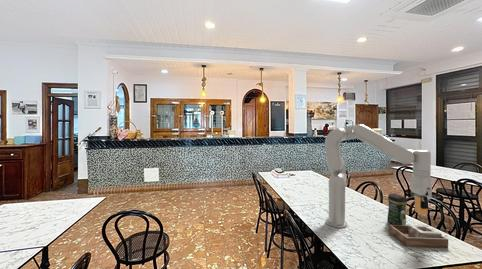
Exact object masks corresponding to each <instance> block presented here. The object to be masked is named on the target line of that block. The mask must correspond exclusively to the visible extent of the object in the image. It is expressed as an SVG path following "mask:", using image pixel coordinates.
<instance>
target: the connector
mask: <svg viewBox="0 0 482 269" xmlns="http://www.w3.org/2000/svg"><path fill="white" fill-rule="evenodd" d="M414 195H415V198H414V212H416V213H417V214H419V215H428V214H429V212H428V210H429V208H428V209H422V208H421V201H422V196H420V195H418V194H415V193H414V194H413V196H414ZM424 198H425V197H424Z"/></svg>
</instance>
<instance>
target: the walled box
mask: <svg viewBox="0 0 482 269" xmlns="http://www.w3.org/2000/svg"><path fill="white" fill-rule="evenodd" d="M388 233H389V234H390V235H391V236H392V237H394V239H396V240H398V241H399V242H400V243H401V244H403V245H404V246H405V247H408V248H432V249H433V248H435V249H436V248H437V249H441V248H442V249H448V248H449V239H448V238H447V237H445V236H443V234H442V232H440V231H438V230H436V229H435V228H432V227H431V226H430V225H426V224H425V225H424V224H406V225H394V224H388Z"/></svg>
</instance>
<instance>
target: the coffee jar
mask: <svg viewBox="0 0 482 269" xmlns="http://www.w3.org/2000/svg"><path fill="white" fill-rule="evenodd" d="M387 200H388V211H387V220H386V221H387V222H388V223H390V224H391V225H407V217H406V216H407V215H406V213H407V211H406V207H407V204H408V203H407V202H408V200H407V197H406V196H405V195H401V194H397V193H395V192H390V193H389V194H388V197H387Z"/></svg>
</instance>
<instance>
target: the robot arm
mask: <svg viewBox="0 0 482 269" xmlns="http://www.w3.org/2000/svg"><path fill="white" fill-rule="evenodd" d="M356 139H358V140H360V141H361V142H363V143H365V144H366V145H368V146H370V147H371V148H373V149H375V150H376V151H379V152H381V153H382V154H384V155H386V156H388V157H390V158H391V159H393V160H395V161H397V162H398V163H401V164H402V165H411V164H412V175H411V178H410V191H411V192H412V193H413V198H414V199H415V195H414V193H415V194H418V195H420V196H422V201H421V208H422V209H428V210H429V201H430V200H431V199H433V196H432V194H433V192H432V191H433V189H432V188H433V187H432V179H431V170H432V169H431V168H432V166H431V165H432V163H431V162H432V161H431V159H432V158H431V157H432V156H431V154H432V153H431V152H430V150H427V149H416V150H413V149H407V148H405V147H403V146H401V145H399V144H397V143H395V142H394V141H392V140H391V139H389V138H388V137H386V136H384V135H383V134H381V133H379V132H378V131H375V130H374V129H372V128H370V127H369V126H366V125H365V124H363V123H362V124H361V123H359V124H355V125H349V126H345V127H338V128H337V127H336V128H334V129H332V130H331V131H330V132H329V133H328V134H327V135H326V137H325V140H324V148H325V157H326V165H327V168H328V169H329V172H330V176H329V178H328V217H327V218H326V220H325V223H326V225H328V226H330V227H333V228H338V229H341V228H343V229H344V228H347V227H348V222H347V221H346V185H347V180H348V178H347V172H346V166H345V165H346V164H345V160H344V158H343V157H342V156H341V155H342V154H341V149H340V148H341V147H340V144H341V142H343V141H350V140H356ZM424 197H425V198H424Z"/></svg>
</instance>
